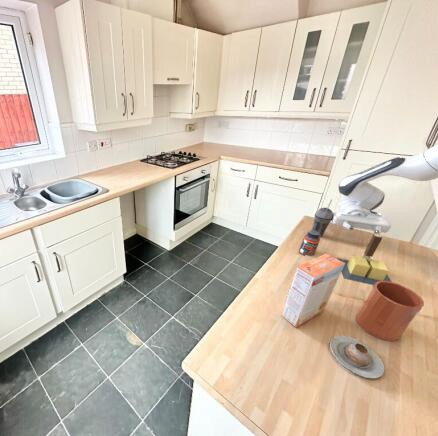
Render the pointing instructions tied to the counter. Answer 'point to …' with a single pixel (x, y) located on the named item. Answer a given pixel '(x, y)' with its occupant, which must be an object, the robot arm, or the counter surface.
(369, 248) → the knife
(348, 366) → the grey lid
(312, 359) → the counter surface
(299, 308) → the cracker box
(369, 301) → the crock
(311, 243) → the supplement bottle
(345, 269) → the butter dish
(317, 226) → the beverage cup
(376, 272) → the butter
